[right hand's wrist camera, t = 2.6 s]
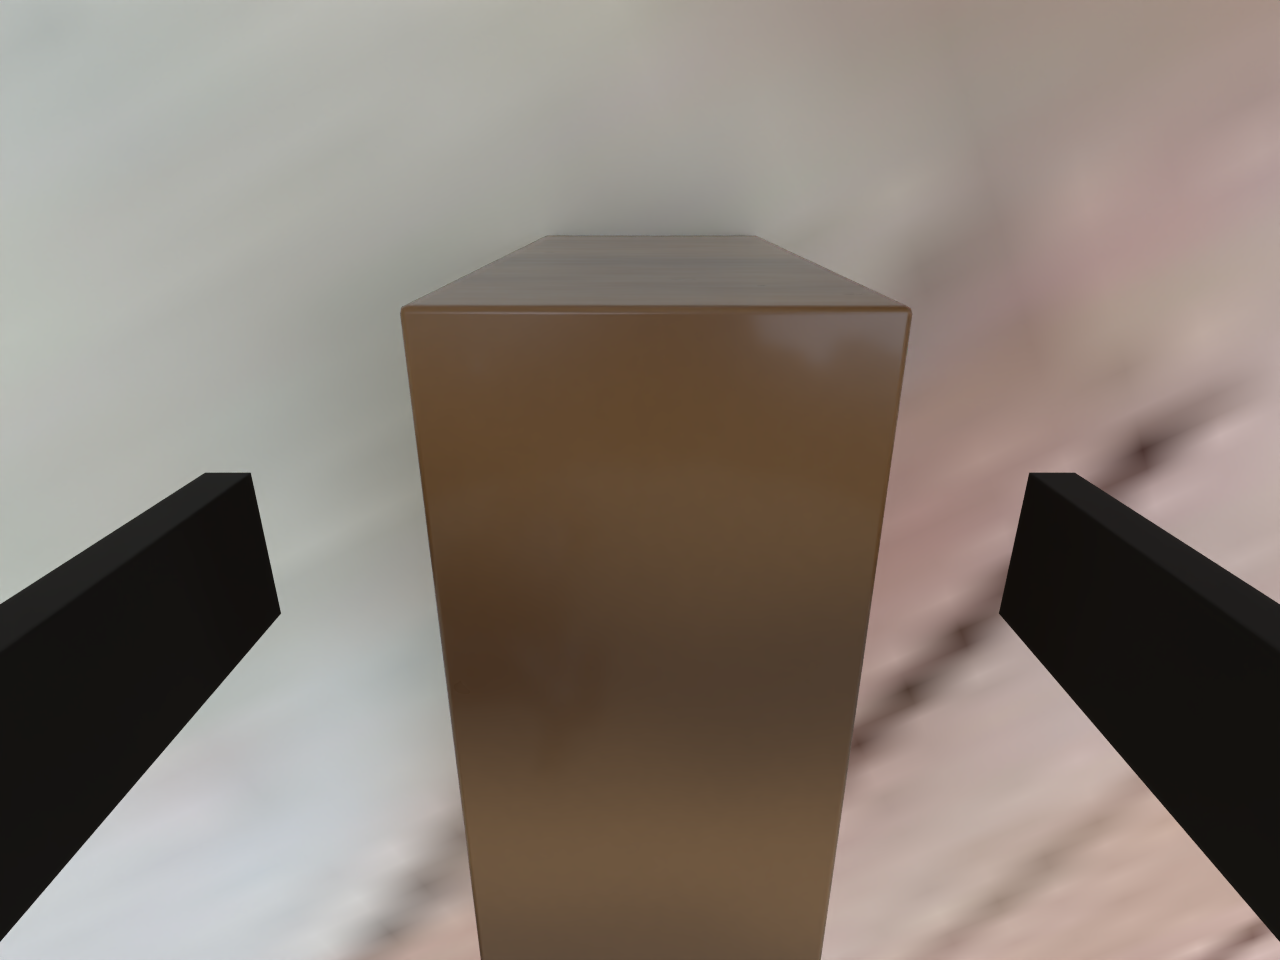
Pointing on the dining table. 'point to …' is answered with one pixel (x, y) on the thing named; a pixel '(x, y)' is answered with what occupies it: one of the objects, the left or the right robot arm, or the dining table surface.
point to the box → (653, 583)
